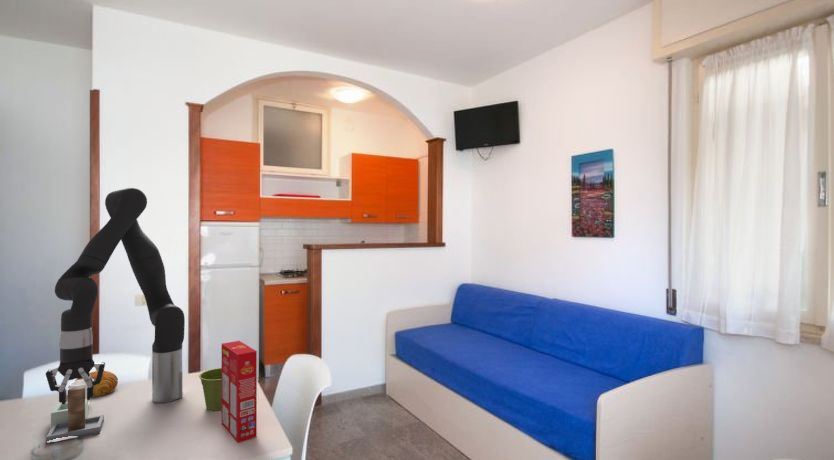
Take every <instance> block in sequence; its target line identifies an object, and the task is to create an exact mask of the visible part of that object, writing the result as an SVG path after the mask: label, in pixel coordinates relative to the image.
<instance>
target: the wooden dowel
mask: <svg viewBox="0 0 834 460" xmlns="http://www.w3.org/2000/svg"><path fill="white" fill-rule="evenodd" d="M67 402H68V432H69V431H74V430H80V429H85V387H84V386H80V387H74V388H71V389H69V388H68V389H67Z"/></svg>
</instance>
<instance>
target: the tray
mask: <svg viewBox="0 0 834 460" xmlns="http://www.w3.org/2000/svg"><path fill="white" fill-rule="evenodd" d="M104 423H105V415H104V414H101V415H96V416H89V417H87V418H85V429H80V430H74V431H69V432H68V421H67V422H62V423H56V424H54V425H53V426H52V428H51V427H50V430H49V432H48V433H47V434H46V437H45V442H46V441H49V440H53V439H56V438H62V437H68V436H78V437H80V438H83V437H84V438H85V437H89V436H94V435H99V434H101V431H102V428H103V424H104Z"/></svg>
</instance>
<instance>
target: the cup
mask: <svg viewBox="0 0 834 460" xmlns="http://www.w3.org/2000/svg"><path fill="white" fill-rule="evenodd" d="M80 386H84V387H85V399H87V387H88V386H87V384H86V382H85V381H84V380H83V379H82V380H77V381H75V380H73V381H72V382H70V383H69V384H68V387H69V388H68V390H69V389H71V388H74V387H80ZM91 399H92V398H91ZM91 399H90V400H88V406H90V404H91V403H90V402H91Z"/></svg>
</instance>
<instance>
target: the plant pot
mask: <svg viewBox="0 0 834 460" xmlns="http://www.w3.org/2000/svg"><path fill="white" fill-rule="evenodd" d="M198 378H199V380H200V382H201V385H202V390H203V396H204V402H205V408H206V409H207V410H210V411H220V410H221V411H222V367H217V368H211V369H208V370H205V371H203V372H201V373H200V374H199V375H198Z"/></svg>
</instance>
